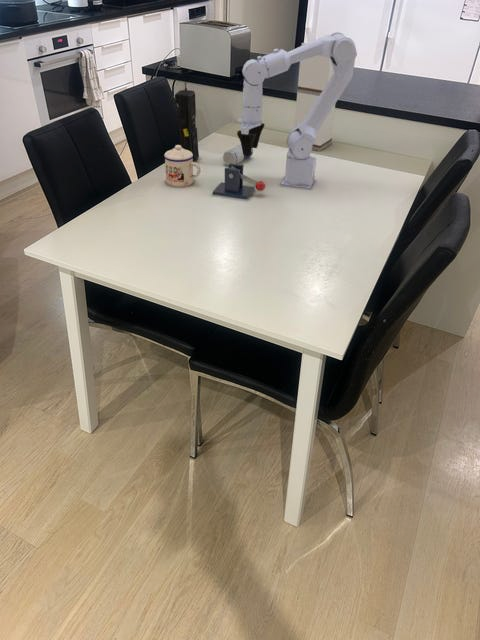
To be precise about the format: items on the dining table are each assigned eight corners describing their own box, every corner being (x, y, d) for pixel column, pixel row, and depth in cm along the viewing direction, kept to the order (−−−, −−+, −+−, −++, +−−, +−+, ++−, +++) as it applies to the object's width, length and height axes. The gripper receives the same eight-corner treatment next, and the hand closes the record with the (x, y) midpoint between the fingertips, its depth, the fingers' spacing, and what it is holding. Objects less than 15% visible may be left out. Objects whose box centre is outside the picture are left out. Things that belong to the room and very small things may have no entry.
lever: (264, 190, 156) (267, 182, 154) (261, 194, 154) (265, 185, 152) (229, 173, 156) (233, 164, 154) (226, 176, 154) (230, 167, 152)
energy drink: (234, 168, 175) (252, 159, 183) (236, 153, 172) (254, 144, 180) (221, 164, 177) (240, 154, 185) (223, 149, 173) (242, 140, 182)
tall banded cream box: (331, 143, 198) (344, 43, 177) (319, 151, 191) (332, 47, 170) (304, 138, 203) (315, 39, 182) (292, 145, 196) (301, 43, 175)
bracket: (254, 190, 160) (255, 164, 155) (247, 200, 154) (247, 173, 149) (221, 185, 162) (221, 160, 157) (212, 195, 156) (212, 168, 151)
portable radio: (193, 165, 176) (191, 88, 161) (176, 164, 177) (173, 87, 161) (199, 158, 182) (197, 83, 167) (183, 156, 183) (180, 81, 168)
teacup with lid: (160, 184, 162) (157, 147, 155) (174, 174, 169) (172, 139, 162) (193, 191, 158) (192, 154, 151) (206, 181, 165) (206, 145, 158)
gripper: (246, 98, 156) (244, 142, 165) (231, 110, 145) (230, 157, 153) (268, 100, 155) (265, 145, 163) (255, 112, 144) (253, 160, 152)
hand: (250, 151), depth 158 cm, fingers open, 7 cm apart
